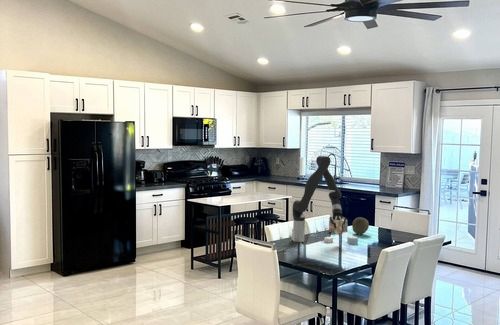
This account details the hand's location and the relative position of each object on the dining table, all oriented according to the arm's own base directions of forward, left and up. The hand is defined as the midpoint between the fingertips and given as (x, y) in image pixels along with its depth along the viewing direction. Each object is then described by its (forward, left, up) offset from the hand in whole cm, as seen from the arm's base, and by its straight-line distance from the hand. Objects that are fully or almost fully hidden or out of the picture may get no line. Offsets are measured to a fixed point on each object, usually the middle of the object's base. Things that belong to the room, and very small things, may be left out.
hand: (338, 228), depth 378 cm
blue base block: (+14, +4, -13) cm, 20 cm away
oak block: (0, +2, -4) cm, 5 cm away
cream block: (-3, +11, -13) cm, 18 cm away
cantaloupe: (+38, +35, -13) cm, 53 cm away
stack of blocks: (+25, +52, -14) cm, 60 cm away
